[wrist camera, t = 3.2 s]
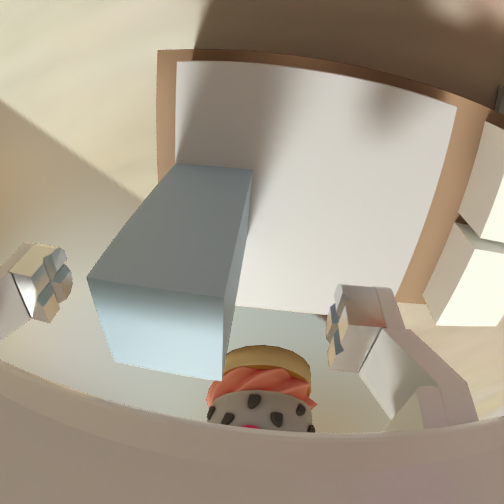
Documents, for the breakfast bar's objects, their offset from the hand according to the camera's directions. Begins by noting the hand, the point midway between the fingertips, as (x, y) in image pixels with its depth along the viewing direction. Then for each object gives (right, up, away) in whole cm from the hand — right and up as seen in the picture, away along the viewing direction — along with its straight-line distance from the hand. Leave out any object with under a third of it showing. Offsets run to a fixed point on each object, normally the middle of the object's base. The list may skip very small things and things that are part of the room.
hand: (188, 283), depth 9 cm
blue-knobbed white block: (+4, +4, +5) cm, 8 cm away
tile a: (+15, +5, +4) cm, 16 cm away
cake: (+3, -12, +24) cm, 27 cm away
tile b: (+15, 0, +7) cm, 16 cm away
